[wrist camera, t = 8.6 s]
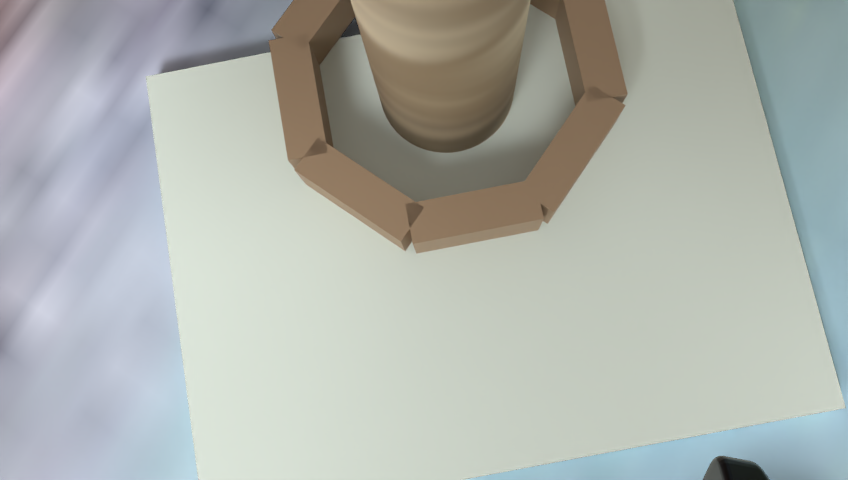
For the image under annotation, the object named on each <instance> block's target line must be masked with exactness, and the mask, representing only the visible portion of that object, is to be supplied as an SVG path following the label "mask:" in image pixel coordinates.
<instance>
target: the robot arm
mask: <svg viewBox="0 0 848 480" xmlns="http://www.w3.org/2000/svg"><path fill="white" fill-rule="evenodd" d="M703 480H770V479H769V478H768V476H767V475H766V474H765V472H764V471H763V470H762V468H761V467H759V466H758V465H757V464H756V463H754V462H751V461H747V460H742V459H737V458H731V457H726V456H718V457H716V458H715V459H714V460H713V461H712V462H711V464H710V466H709V468H708V470H707V472H706V474H705V476H704V478H703Z"/></svg>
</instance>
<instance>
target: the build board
mask: <svg viewBox="0 0 848 480" xmlns="http://www.w3.org/2000/svg"><path fill="white" fill-rule="evenodd" d="M354 18H355V14H354V11H353V7H352V4H351V0H293V2H292V3H291V4H290V6H289V7H288V8H287V10H286V11H285V12H284V14H283V15H282V17H281V18H280V19H279V21H278V22H277V23H276V25H275V26H274V27H273V29H272V32H273V34H274V35H275V37H276V39H275V40H270V41H269V46H270V52H268V53H263V54H258V55H253V56H248V57H243V58H238V59H232V60H227V61H222V62H217V63H212V64H207V65H202V66H197V67H192V68H187V69H182V70H177V71H172V72H167V73H161V74H156V75H151V76H146V81H147V89H148V96H149V104H150V112H151V119H152V127H153V135H154V142H155V150H156V158H157V166H158V173H159V181H160V189H161V196H162V204H163V212H164V220H165V227H166V235H167V243H168V250H169V258H170V266H171V273H172V281H173V289H174V297H175V304H176V312H177V320H178V327H179V335H180V343H181V351H182V358H183V366H184V374H185V381H186V389H187V397H188V404H189V412H190V420H191V428H192V435H193V443H194V451H195V458H196V466H197V474H198V480H464V479H469V478H475V477H480V476H485V475H491V474H496V473H501V472H507V471H512V470H517V469H523V468H528V467H533V466H539V465H544V464H550V463H555V462H560V461H566V460H571V459H576V458H582V457H587V456H592V455H598V454H603V453H608V452H614V451H619V450H624V449H630V448H635V447H640V446H646V445H651V444H656V443H662V442H667V441H672V440H678V439H683V438H688V437H694V436H699V435H705V434H710V433H715V432H721V431H726V430H731V429H737V428H742V427H747V426H753V425H758V424H763V423H769V422H774V421H779V420H785V419H790V418H795V417H801V416H806V415H811V414H817V413H822V412H827V411H833V410H838V409H843V408H846V407H845V403H844V400H843V396H842V393H841V389H840V385H839V382H838V378H837V375H836V371H835V367H834V364H833V360H832V356H831V353H830V349H829V346H828V342H827V338H826V335H825V331H824V327H823V324H822V320H821V317H820V313H819V309H818V306H817V302H816V299H815V295H814V291H813V288H812V284H811V280H810V277H809V273H808V270H807V266H806V262H805V259H804V255H803V251H802V248H801V244H800V241H799V237H798V233H797V230H796V226H795V223H794V219H793V215H792V212H791V208H790V204H789V201H788V197H787V194H786V190H785V186H784V183H783V179H782V175H781V172H780V168H779V165H778V161H777V157H776V154H775V150H774V147H773V143H772V139H771V136H770V132H769V128H768V125H767V121H766V118H765V114H764V110H763V107H762V103H761V99H760V96H759V92H758V89H757V85H756V81H755V78H754V74H753V71H752V67H751V63H750V60H749V56H748V52H747V49H746V45H745V42H744V38H743V34H742V31H741V27H740V23H739V20H738V16H737V13H736V9H735V5H734V2H733V0H531V1H530V6H529V12H528V18H527V23H526V29H525V34H524V40H523V46H522V51H521V57H520V63H519V68H518V74H517V79H516V85H515V91H514V96H513V101H512V105H511V108H510V111H509V113H508V115H507V117H506V119H505V121H504V122H503V124H502V125H501V126H500V128H499V129H498V130H497V131H496V132H495V133H494V134H493V135H492V136H491V137H490V138H488V139H487V140H486V141H484V142H482V143H481V144H479V145H477V146H475V147H473V148H470V149H467V150H464V151H459V152H453V153H440V152H433V151H428V150H425V149H422V148H419V147H417V146H415V145H413V144H411V143H410V142H408V141H407V140H405V139H404V138H403V137H401V136H400V135H399V134H398V133H397V132H396V131H395V129H394V128H393V127H392V126H391V124H390V123H389V121H388V120H387V118H386V115H385V113H384V111H383V108H382V104H381V101H380V98H379V94H378V91H377V88H376V84H375V81H374V78H373V74H372V71H371V68H370V64H369V61H368V57H367V54H366V51H365V47H364V44H363V41H362V37H361V34H359V35H354V36H349V37H344V38H340V37H341V35H342V34H343V33H344V31H345V30H346V28H347V27H348V26H349V24H350V23H351V22H352V20H353V19H354Z"/></svg>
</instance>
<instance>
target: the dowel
mask: <svg viewBox="0 0 848 480" xmlns="http://www.w3.org/2000/svg"><path fill="white" fill-rule="evenodd" d="M530 1H531V0H351V4H352V7H353V11H354V14H355V17H356V21H357V24H358V27H359V31H360V34H361V37H362V41H363V44H364V47H365V51H366V54H367V57H368V61H369V64H370V68H371V71H372V74H373V78H374V81H375V84H376V88H377V91H378V94H379V98H380V101H381V104H382V108H383V111H384V113H385V115H386V118H387V120H388V121H389V123H390V124H391V126H392V127H393V128H394V129H395V131H396V132H397V133H398V134H399V135H400V136H401V137H403V138H404V139H405V140H407V141H408V142H410V143H411V144H413V145H415V146H417V147H419V148H422V149H425V150H428V151H433V152H440V153H453V152H459V151H464V150H467V149H470V148H473V147H475V146H477V145H479V144H481V143H482V142H484V141H486V140H487V139H488V138H490V137H491V136H492V135H493V134H494V133H495V132H496V131H497V130H498V129H499V128H500V126H501V125H502V124H503V122H504V121H505V119H506V117H507V115H508V113H509V111H510V108H511V105H512V101H513V96H514V91H515V85H516V79H517V74H518V68H519V63H520V57H521V51H522V46H523V40H524V34H525V29H526V23H527V18H528V12H529V6H530Z"/></svg>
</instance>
